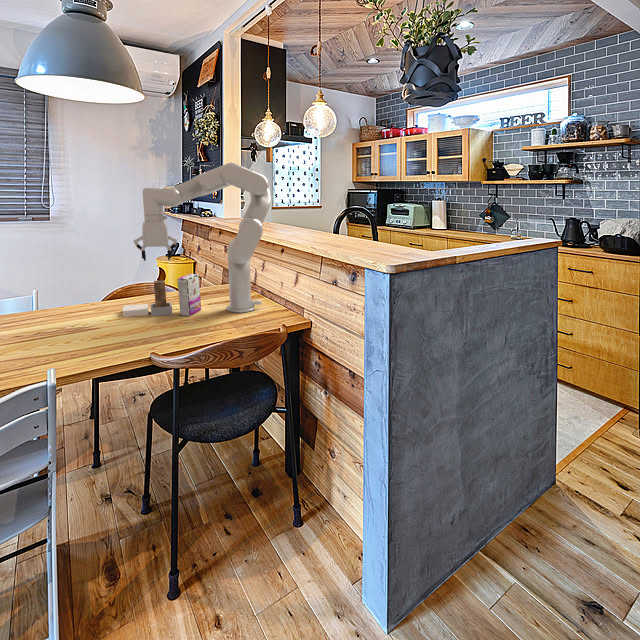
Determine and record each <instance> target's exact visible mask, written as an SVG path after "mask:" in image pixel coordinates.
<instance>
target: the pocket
mask: <svg viewBox="0 0 640 640" xmlns="http://www.w3.org/2000/svg"><path fill="white" fill-rule="evenodd" d="M166 303H167V307H157V308H156V304H155V302H154V303H153V302H152V303H150V315H151V316H150V317H158V316H159V317H160V316H162V317H163V316H173V306H172V302H169V301H168V302H166Z"/></svg>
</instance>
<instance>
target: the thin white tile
mask: <svg viewBox="0 0 640 640" xmlns="http://www.w3.org/2000/svg"><path fill="white" fill-rule="evenodd" d="M142 316H149V304H148V303H143V304H129V305H127V304H125V305H123V308H122V317H124V318H125V317H127V318H128V317H142Z"/></svg>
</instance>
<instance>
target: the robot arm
mask: <svg viewBox="0 0 640 640" xmlns="http://www.w3.org/2000/svg"><path fill="white" fill-rule="evenodd" d="M230 186H233V187H234V188H235V187H236V188H238V189H240V190H242V191H245V192H248V193H249V194H250V201H249V204H248V207H247V209H246V211H245V213H244V215H243V217H242V219H241V221H240V222H239V223H238V224H239V225H238V231H237V233H236V236H235V237H234V239H233V240H231V241H230V242H229V243H228V245H227V265H228V290H229V292H228V295H229V305H226V311H227V312H230V313H236V314H237V313H239V314H240V313H241V314H242V313H249V312H252V311H254V310H255V306H262V300H258V299H253V298H252V293H251V292H252V291H251V290H252V287H251V258H252V257H253V255H254V253H255V251H256V248H257V246H258V244H259V243H260V240H261V238H262V236H263V231H264V229H263V224H264V221H265V219H266V216H267V215H268V212H269V210H270V207H271V197H272V196H271V191H270V188H269V181H268V179H267V177H265V176H264V175H263V174H262V173H258V172H256V171H253V170H251V169H249V168H246V167H244V166H242V165H239V164H238V163H235V162H228V163H225V164H223V165H221V166H218V167H215V168H213V169H209V170H208V171H205V172H201V173H200V174H198V175H196V176H194V177H192V178H191V179H189V180H185V182H182V183H179V184H176V185H173V186H172V187H168V188H159V187H145V188H143V189H142V203H143V216H144V217H143V218H144V221H143V222H142V226H141V227H142V230H141V231H142V233H141V234H142V235H141V236H139V237H138V238H135V239H133V243H134V245H135V247H136V248H137V249H138V250H139V251H141V259H142V260H143V261H144V262H146V261H147V257H146V250H145V249H146V248H147V247H151V248H152V247H154V248H155V247H158V248H159V247H160V248H161V247H165V248H166V249H167V260H168V261H170V260H171V259H172V250H173V249H174V248H175V247H176V246H177V244H178V243H177V242H178V240H177V239H176V238H175V237H172V236H170V235H169V234H168V226H167V223H166V222H165V220H168V216H167V215H165V214H164V206H165V207H169V208H174V207H178V206H179V205H180V204H181V205H182V204H183V203H186V202H188V201H191V200H194V199H196V198H198V197H204V196H208V195H211V194H213V193H215V192H217V191H220V190H223V189H224V188H227V187H230ZM169 240H170V241H171V242H172V244H171V245H169ZM141 241H142V244H143V245H142V246H141V245H140V243H139V242H141Z"/></svg>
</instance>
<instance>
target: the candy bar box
mask: <svg viewBox="0 0 640 640" xmlns="http://www.w3.org/2000/svg"><path fill="white" fill-rule="evenodd" d="M176 280H177V293H178V303H179V315H180V316H181V315H183V316H182V317H191V316H193V315H195V314H197V313H199V312H201V310H202V305H201V304H202V303H201V301H202V300H201V289H200V276H199V274H198V273H196V274H195V273H188V274H186V275H183V276H180V277H178V278H177V279H176Z"/></svg>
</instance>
